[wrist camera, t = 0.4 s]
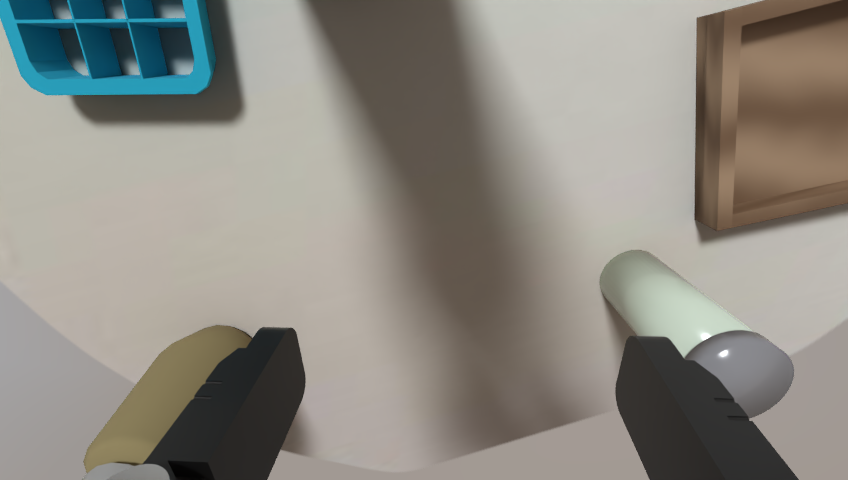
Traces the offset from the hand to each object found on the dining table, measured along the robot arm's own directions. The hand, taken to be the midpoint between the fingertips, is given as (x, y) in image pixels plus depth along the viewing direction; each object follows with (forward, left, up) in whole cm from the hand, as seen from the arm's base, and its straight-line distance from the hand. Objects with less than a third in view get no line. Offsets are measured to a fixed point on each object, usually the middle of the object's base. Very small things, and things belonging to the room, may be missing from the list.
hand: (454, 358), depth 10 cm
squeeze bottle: (+11, -21, -21) cm, 32 cm away
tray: (+1, +26, -21) cm, 33 cm away
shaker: (+12, +14, -21) cm, 28 cm away
